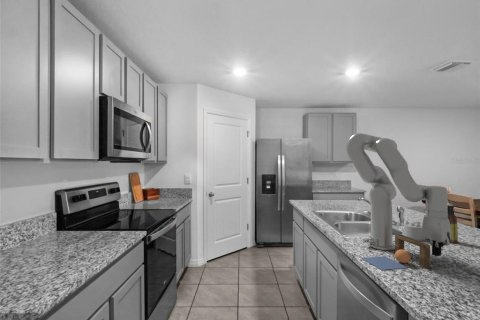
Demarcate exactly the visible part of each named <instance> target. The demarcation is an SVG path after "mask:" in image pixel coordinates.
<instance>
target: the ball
mask: <svg viewBox="0 0 480 320" xmlns="http://www.w3.org/2000/svg"><path fill="white" fill-rule="evenodd" d="M394 257H395V259H396V261H397V262H398V263H400V264H408V263H410V261H411V258H412V257H411V254H410V252H408V251H407V250H405V249H404V250H397V251H396V253H395V252H394Z"/></svg>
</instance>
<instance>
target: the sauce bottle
mask: <svg viewBox="0 0 480 320" xmlns="http://www.w3.org/2000/svg"><path fill="white" fill-rule="evenodd" d="M447 207H448V219H449V222H450V227H451V241H450V244H451V243H452V244H457V243H458V242H459V241H458V240H459V231H458V218H457V216H456V215H455V212H454V211H455V210H454V208H455V205H454V204H449V203H448V204H447Z"/></svg>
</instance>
